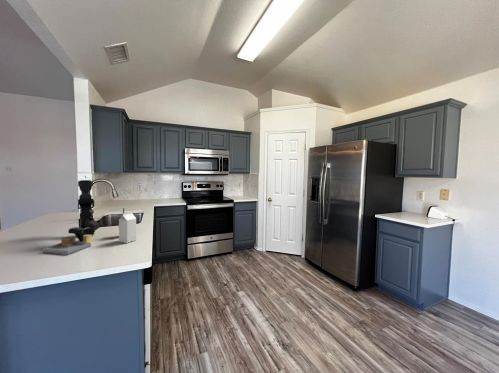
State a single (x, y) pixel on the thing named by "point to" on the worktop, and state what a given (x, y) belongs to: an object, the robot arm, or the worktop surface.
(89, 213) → the robot arm
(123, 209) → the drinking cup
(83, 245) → the tray
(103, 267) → the worktop surface
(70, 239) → the walnut block
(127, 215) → the milk carton
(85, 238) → the mustard block
